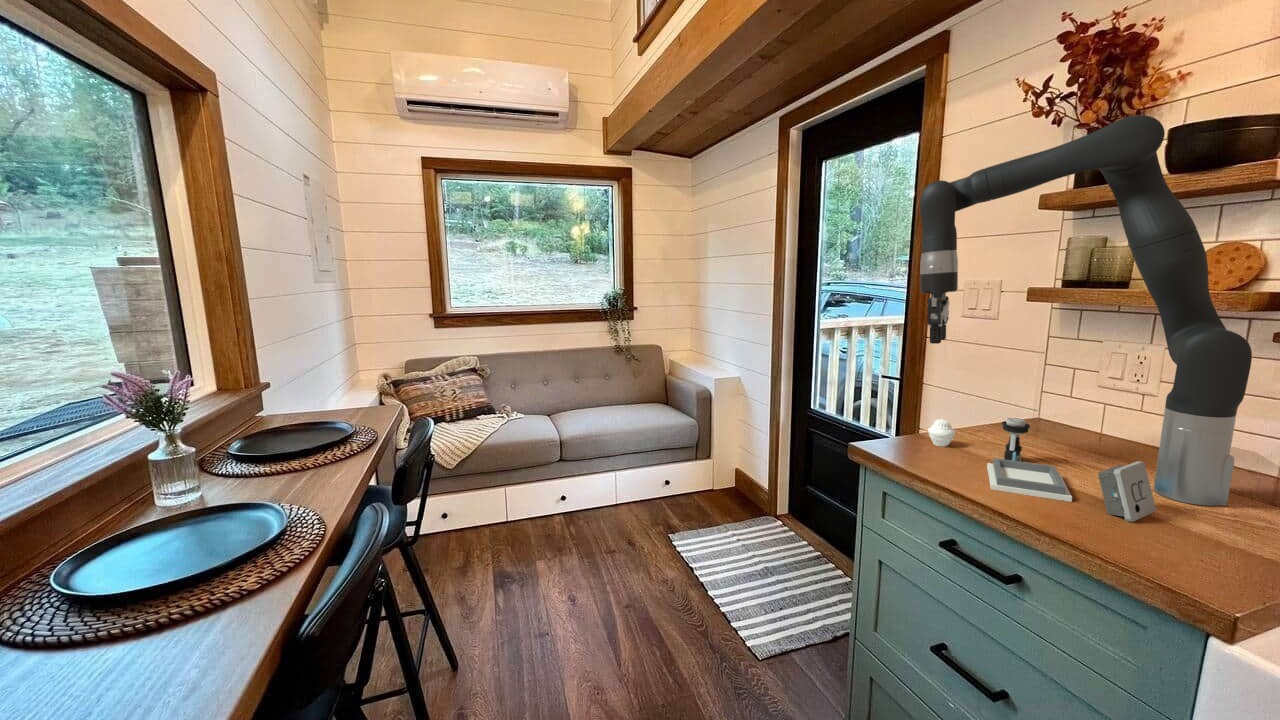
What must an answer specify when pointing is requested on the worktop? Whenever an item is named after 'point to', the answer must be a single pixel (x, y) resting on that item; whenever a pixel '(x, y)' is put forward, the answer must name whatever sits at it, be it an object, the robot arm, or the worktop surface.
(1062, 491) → the grey square tray
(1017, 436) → the push button
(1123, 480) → the electrical outlet
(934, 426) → the muffin
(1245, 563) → the worktop surface
